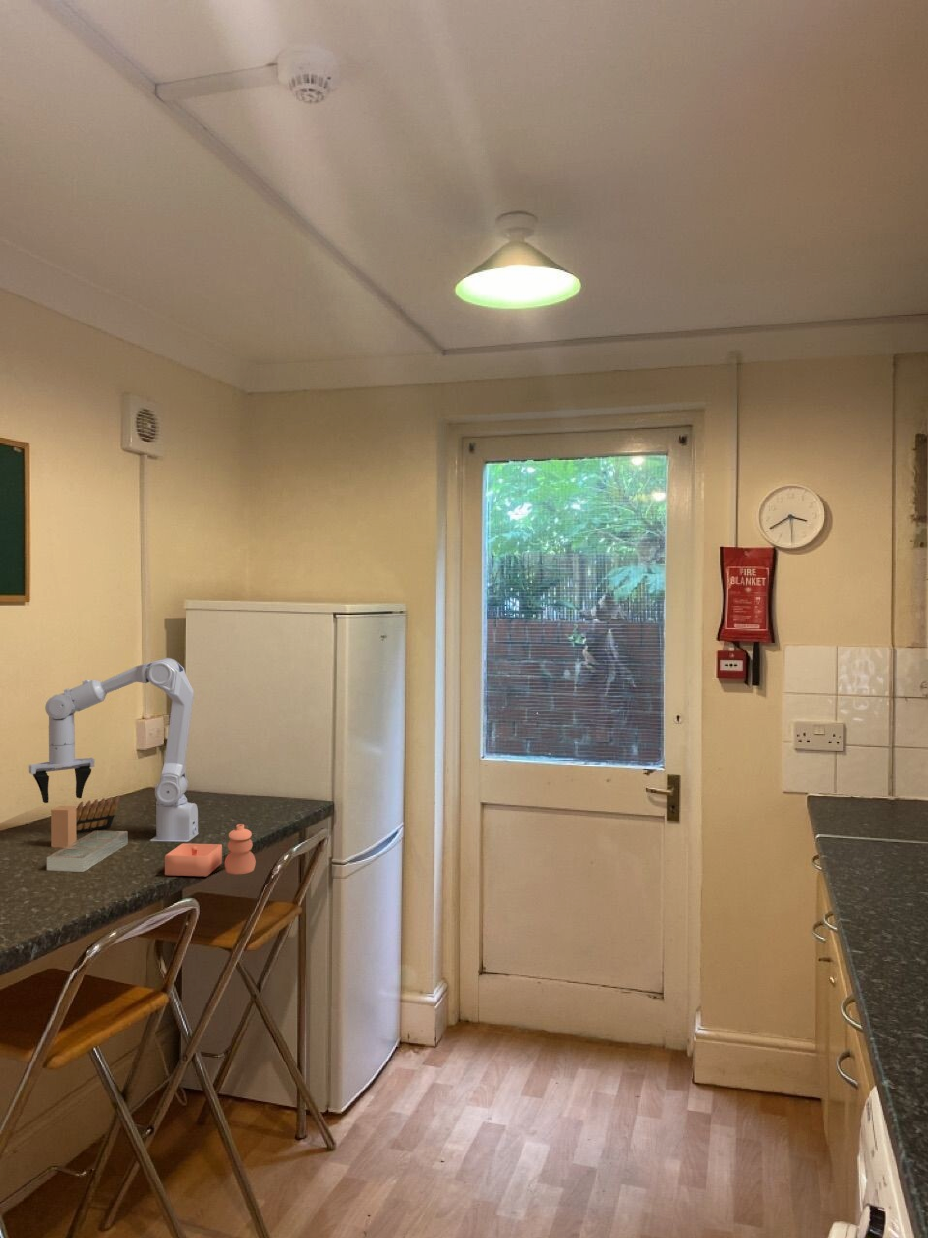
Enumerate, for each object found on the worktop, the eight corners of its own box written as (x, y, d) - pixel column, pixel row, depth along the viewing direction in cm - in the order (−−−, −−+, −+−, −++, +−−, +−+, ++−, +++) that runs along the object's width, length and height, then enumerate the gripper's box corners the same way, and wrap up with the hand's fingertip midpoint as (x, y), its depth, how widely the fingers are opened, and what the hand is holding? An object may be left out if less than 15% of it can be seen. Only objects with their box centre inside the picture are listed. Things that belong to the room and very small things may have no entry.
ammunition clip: (67, 835, 221) (79, 805, 215) (65, 829, 222) (77, 799, 216) (110, 827, 229) (123, 798, 223) (108, 821, 230) (121, 792, 224)
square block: (76, 844, 214) (76, 806, 213) (68, 848, 210) (67, 810, 209) (60, 843, 214) (59, 806, 214) (51, 848, 210) (51, 810, 210)
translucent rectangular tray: (94, 843, 214) (94, 830, 214) (127, 843, 214) (127, 831, 214) (46, 871, 192) (46, 857, 192) (83, 872, 192) (83, 858, 192)
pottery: (164, 875, 191) (164, 829, 191) (182, 862, 200) (182, 818, 200) (248, 877, 189) (248, 831, 189) (261, 864, 199) (261, 820, 199)
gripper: (87, 738, 224) (88, 792, 225) (24, 744, 215) (25, 801, 215) (97, 742, 219) (97, 797, 219) (33, 748, 210) (33, 806, 210)
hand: (62, 800), depth 217 cm, fingers open, 7 cm apart
